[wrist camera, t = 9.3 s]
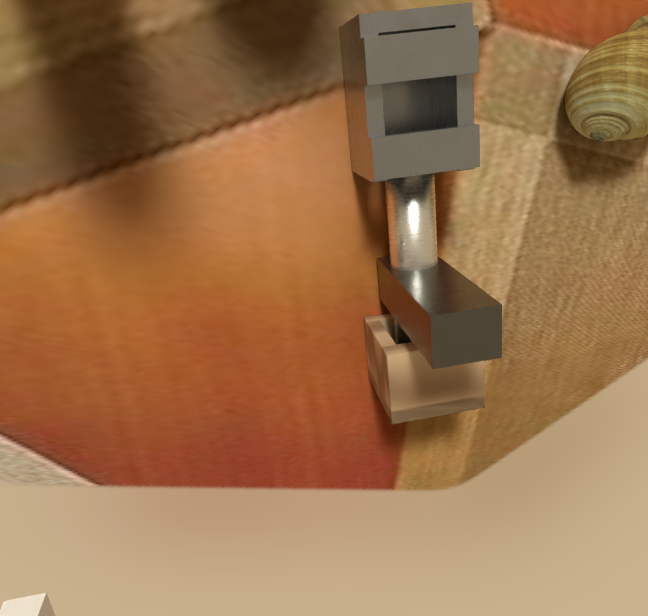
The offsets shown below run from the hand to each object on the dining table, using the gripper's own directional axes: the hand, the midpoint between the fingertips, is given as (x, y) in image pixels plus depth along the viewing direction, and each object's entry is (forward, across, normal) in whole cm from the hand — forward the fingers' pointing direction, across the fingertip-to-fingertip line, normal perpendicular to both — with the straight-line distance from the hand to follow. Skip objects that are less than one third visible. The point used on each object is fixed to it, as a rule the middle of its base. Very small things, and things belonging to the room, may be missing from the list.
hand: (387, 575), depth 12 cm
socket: (+31, +9, -10) cm, 33 cm away
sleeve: (+31, +9, +8) cm, 33 cm away
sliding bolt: (+30, +9, -3) cm, 32 cm away
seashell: (+31, +25, +8) cm, 41 cm away
